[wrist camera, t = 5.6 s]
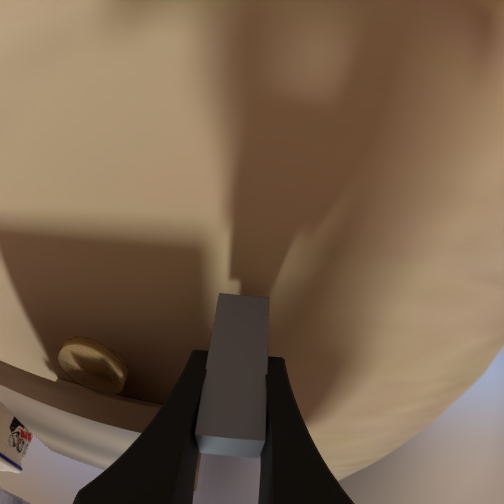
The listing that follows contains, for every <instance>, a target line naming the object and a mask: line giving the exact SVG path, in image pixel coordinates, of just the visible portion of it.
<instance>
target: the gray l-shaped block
mask: <svg viewBox="0 0 504 504" xmlns="http://www.w3.org/2000/svg"><path fill="white" fill-rule="evenodd" d="M268 320H269V298H268V297H256V296H245V295H234V294H223V293H219V297H218V302H217V308H216V313H215V319H214V324H213V330H212V335H211V341H210V347H209V352H208V358H207V364H206V369H207V373H206V376H205V380H204V383H203V387H202V393H201V399H200V405H199V411H198V418H197V424H196V430H195V437H196V440H197V444H198V448H199V451H200V453H207V454H215V455H224V456H235V457H248V458H259V456H260V454H261V451H262V448H263V445H264V443H265V432H266V402H267V392H266V379H265V374H267V366H268Z"/></svg>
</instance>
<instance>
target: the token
mask: <svg viewBox="0 0 504 504" xmlns="http://www.w3.org/2000/svg"><path fill="white" fill-rule="evenodd" d="M58 361H59V364H60V366H61V367H62V369H63V370H64V371H65V373H66V374H67V375H68V376H70V377H71V378H72V379H73V380H74V381H76V382H77V383H79V384H80V385H82V386H84V387H86V388H88V389H90V390H92V391H95V392H98V393H102V394H110V395H112V394H118V393H120V392H121V391H122V390H123V387H124V384H125V381H126V378H127V375H128V369H127V366H126V364H125V363H124V361H123V360H122V359H121V358H120V357H119V356H118V355H117V354H116V353H115V352H114V351H112V350H111V349H110V348H108V347H107V346H105V345H103V344H101V343H99V342H97V341H95V340H92V339H89V338H86V337H81V336H74V337H70V338H68V339H67V340H66V342H65V343H64V345H63V347H62V349H61V351H60V353H59V355H58Z"/></svg>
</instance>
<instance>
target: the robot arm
mask: <svg viewBox="0 0 504 504" xmlns="http://www.w3.org/2000/svg"><path fill="white" fill-rule="evenodd" d="M208 352H209V351H203V350H193V351H192V352H191V355H190V357H189V360H188V362H187V364H186V366H185V368H184V370H183V372H182V374H181V376H180V377H179V379H178V381H177V383H176V384H175V386H174V388H173V389H172V391H171V393H170V394H169V396H168V398H167V399H166V401H165V402H164V404H163V405H162V407H161V408H160V409H159V411H158V412H157V414H156V415H155V417H154V418H153V419H152V421H151V422H150V423H149V425H148V426H147V427H146V428H145V430H144V431H143V432H142V433H141V434H140V436H139V437H138V438H137V439H136V440H135V441H134V442H133V443H132V445H131V446H130V447H129V448H128V449H127V450H126V451H125V452H124V453H123V454H122V455H121V456H120V457H119V458H118V459H117V460H116V461H115V462H114V463H113V464H111V465H110V466H109V467H108V468H107V469H106V470H105V471H104V472H103V473H102V474H100V475H99V476H98V477H96V478H95V479H94V480H93V481H92V482H90V483H89V484H87V485H86V486H85V487H83V488H82V489H81V490H79V492H78V493H77V495H76V497H75V500H74V502H73V504H354V503H353V501H352V500H351V499H350V498H349V496H348V495H347V494H346V493H345V491H344V490H343V489H342V487H341V486H340V484H339V483H338V481H337V480H336V479H335V477H334V476H333V474H332V473H331V471H330V470H329V468H328V467H327V465H326V463H325V462H324V460H323V458H322V457H321V455H320V453H319V451H318V449H317V448H316V446H315V444H314V442H313V440H312V438H311V436H310V434H309V432H308V430H307V427H306V425H305V423H304V421H303V418H302V416H301V413H300V411H299V408H298V406H297V403H296V400H295V398H294V395H293V392H292V388H291V385H290V382H289V378H288V375H287V370H286V366H285V360H284V359H283V358H282V357H268V366H267V374H265V379H266V392H267V402H266V432H265V443H264V445H263V448H262V451H261V454H260V456H259V458H248V457H235V456H224V455H215V454H207V453H201V460H200V467H199V474H198V481H197V489H196V491H194V485H195V476H196V467H197V460H198V455H199V448H198V444H197V440H196V437H195V430H196V424H197V418H198V411H199V405H200V399H201V393H202V387H203V383H204V380H205V376H206V373H207V369H206V364H207V358H208ZM0 504H31V503H29V502H27V501H25V500H23V499H22V498H20V497H18V496H16V495H14V494H12V493H9V492H7V491H5V490H4V489H2V488H0Z"/></svg>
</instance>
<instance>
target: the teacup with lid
mask: <svg viewBox="0 0 504 504" xmlns="http://www.w3.org/2000/svg"><path fill="white" fill-rule="evenodd" d="M32 437H33V434H32V433H31V432H30V431H29V430H28V429H27V428H26V427H25V426H24V425H23V424H22V423H21V422H20V421H19V420H18V419H17V418H16V417H15V416H14V415H13V414H12V413H11V412H10V411H9V410H8V409H7V408H6V407H5V406H4V405H3V404H2V403H1V401H0V471H12V472H15V473H20V471H22V468H21V467H22V464H23V461H24V458H25V456H26V452H27V450H28V447H29V444H30V442H31V439H32Z"/></svg>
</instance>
